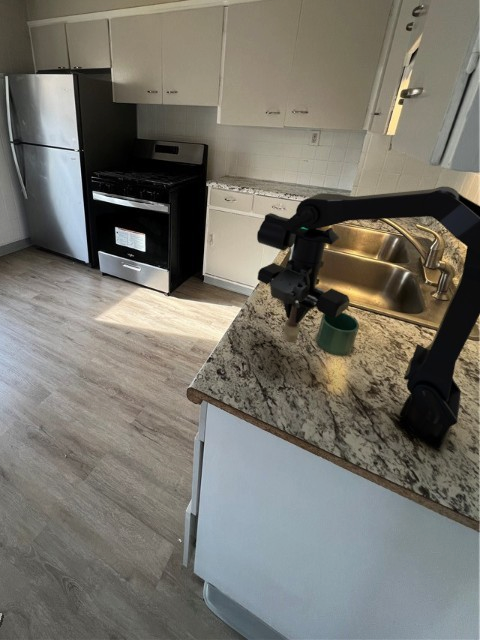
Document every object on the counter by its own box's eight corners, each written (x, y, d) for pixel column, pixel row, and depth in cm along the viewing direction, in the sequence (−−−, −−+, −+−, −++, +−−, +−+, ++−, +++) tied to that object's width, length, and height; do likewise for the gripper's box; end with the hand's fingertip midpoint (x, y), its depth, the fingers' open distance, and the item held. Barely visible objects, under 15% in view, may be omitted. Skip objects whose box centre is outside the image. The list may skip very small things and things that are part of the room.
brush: (299, 338, 72) (307, 306, 68) (291, 344, 70) (298, 311, 66) (287, 331, 74) (294, 299, 70) (279, 337, 72) (286, 304, 68)
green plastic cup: (357, 345, 78) (365, 322, 75) (341, 360, 73) (349, 336, 70) (326, 328, 84) (332, 307, 81) (310, 341, 79) (315, 318, 76)
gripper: (245, 251, 65) (237, 313, 71) (330, 289, 52) (311, 360, 59) (277, 239, 71) (268, 297, 78) (360, 270, 59) (340, 336, 65)
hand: (293, 319), depth 70 cm, fingers closed on brush, 2 cm apart
